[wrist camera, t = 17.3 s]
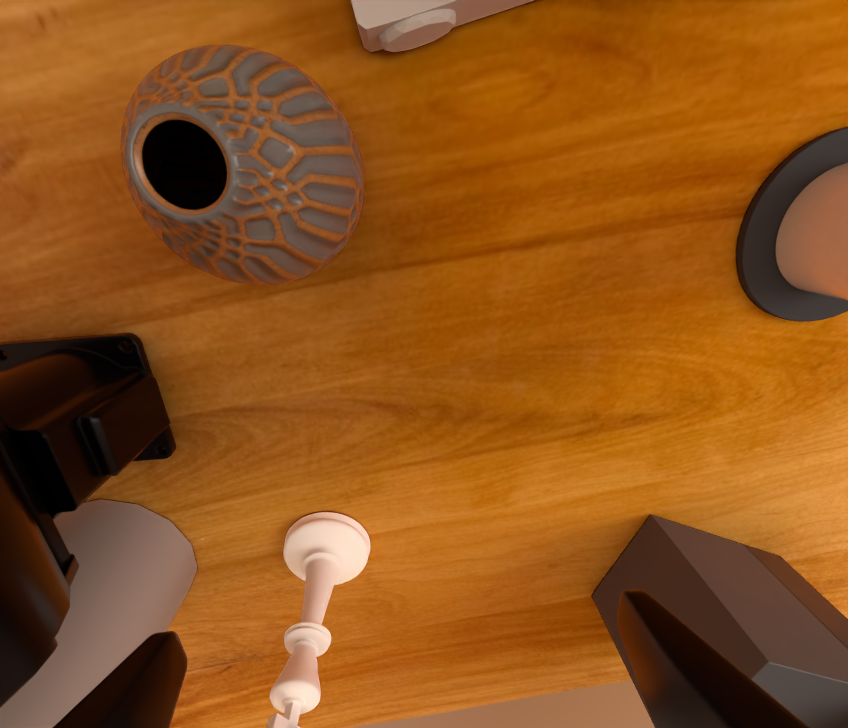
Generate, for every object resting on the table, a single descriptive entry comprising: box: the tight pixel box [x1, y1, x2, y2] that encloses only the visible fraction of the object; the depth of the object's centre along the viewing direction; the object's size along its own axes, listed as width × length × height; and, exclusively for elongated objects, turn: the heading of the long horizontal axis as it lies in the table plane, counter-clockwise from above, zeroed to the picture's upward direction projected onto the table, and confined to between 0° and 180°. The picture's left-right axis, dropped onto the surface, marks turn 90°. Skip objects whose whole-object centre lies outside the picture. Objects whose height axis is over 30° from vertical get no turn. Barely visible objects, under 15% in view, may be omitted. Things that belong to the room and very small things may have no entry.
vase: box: [121, 45, 364, 285], centre depth 13 cm, size 7×7×9 cm
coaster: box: [737, 127, 848, 321], centre depth 19 cm, size 8×8×1 cm
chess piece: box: [266, 512, 370, 728], centre depth 19 cm, size 5×5×10 cm
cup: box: [0, 499, 198, 728], centre depth 19 cm, size 8×8×10 cm
